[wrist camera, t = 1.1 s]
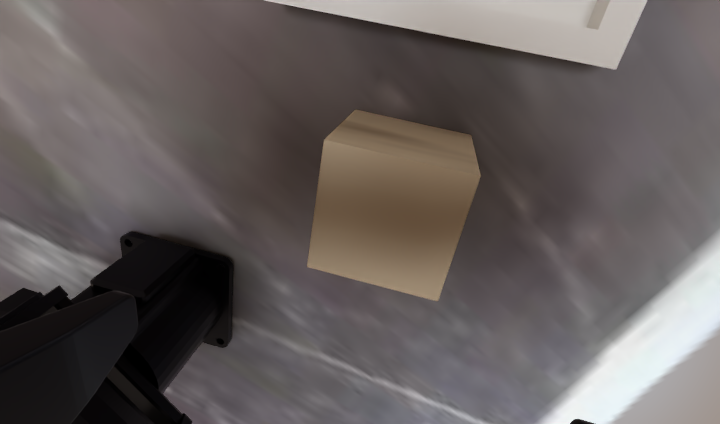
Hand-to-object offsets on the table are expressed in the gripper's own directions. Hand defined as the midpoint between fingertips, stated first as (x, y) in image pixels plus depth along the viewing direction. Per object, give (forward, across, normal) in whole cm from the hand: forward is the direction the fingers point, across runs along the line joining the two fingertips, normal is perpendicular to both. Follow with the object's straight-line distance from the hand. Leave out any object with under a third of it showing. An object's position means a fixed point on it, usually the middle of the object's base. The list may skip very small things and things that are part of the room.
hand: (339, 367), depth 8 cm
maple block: (+11, 0, 0) cm, 11 cm away
